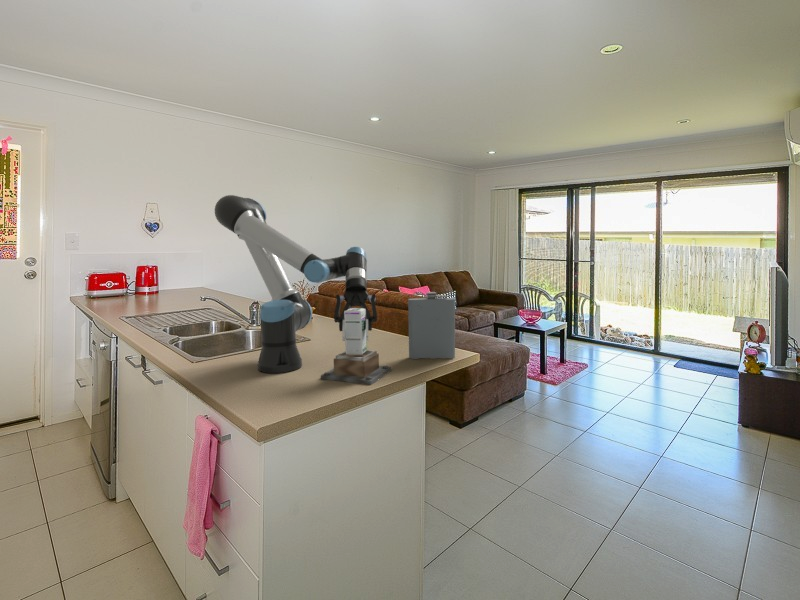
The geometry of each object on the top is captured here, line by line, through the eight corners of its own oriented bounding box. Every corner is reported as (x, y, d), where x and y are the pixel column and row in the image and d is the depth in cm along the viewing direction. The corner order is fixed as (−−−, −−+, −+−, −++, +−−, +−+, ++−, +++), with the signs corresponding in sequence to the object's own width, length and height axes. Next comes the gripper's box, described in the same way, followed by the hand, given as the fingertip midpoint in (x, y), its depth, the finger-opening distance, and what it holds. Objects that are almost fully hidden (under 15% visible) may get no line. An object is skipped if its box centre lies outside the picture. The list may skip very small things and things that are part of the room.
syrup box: (362, 355, 137) (361, 310, 135) (345, 354, 138) (343, 310, 137) (367, 350, 143) (366, 307, 141) (350, 350, 144) (349, 307, 142)
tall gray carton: (454, 355, 164) (454, 291, 161) (455, 358, 160) (455, 292, 156) (409, 355, 165) (408, 291, 162) (408, 359, 160) (408, 292, 157)
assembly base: (320, 378, 137) (319, 357, 136) (344, 365, 152) (344, 346, 151) (371, 384, 131) (370, 361, 130) (391, 370, 146) (390, 349, 145)
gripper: (383, 289, 154) (386, 343, 140) (328, 290, 153) (325, 345, 139) (384, 276, 148) (386, 331, 134) (326, 277, 147) (323, 332, 133)
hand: (355, 338), depth 136 cm, fingers closed on syrup box, 7 cm apart
